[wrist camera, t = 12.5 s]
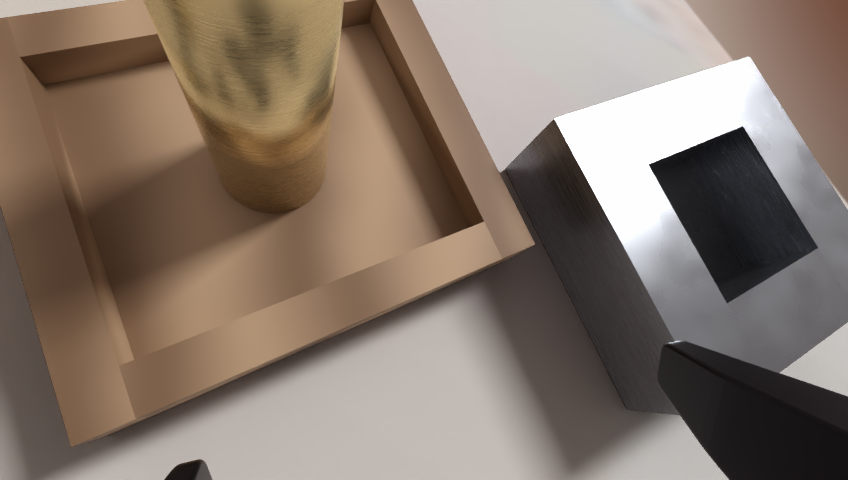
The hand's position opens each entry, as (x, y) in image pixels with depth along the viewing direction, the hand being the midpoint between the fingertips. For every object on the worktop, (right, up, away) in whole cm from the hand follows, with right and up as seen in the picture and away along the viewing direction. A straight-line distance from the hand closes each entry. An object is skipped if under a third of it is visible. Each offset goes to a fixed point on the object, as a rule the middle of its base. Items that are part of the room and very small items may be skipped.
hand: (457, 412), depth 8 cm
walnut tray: (-7, +6, +10) cm, 13 cm away
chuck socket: (+11, +3, +14) cm, 18 cm away
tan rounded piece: (-7, +6, +9) cm, 13 cm away
